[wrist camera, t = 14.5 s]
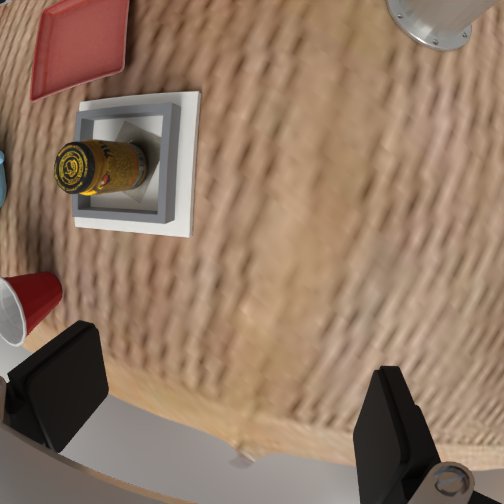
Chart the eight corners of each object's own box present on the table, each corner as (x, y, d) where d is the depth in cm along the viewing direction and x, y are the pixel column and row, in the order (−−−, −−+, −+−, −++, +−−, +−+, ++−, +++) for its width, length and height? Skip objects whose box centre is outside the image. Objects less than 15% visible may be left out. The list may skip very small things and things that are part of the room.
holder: (85, 103, 38) (67, 99, 34) (201, 93, 36) (190, 85, 32) (79, 225, 43) (62, 230, 39) (192, 235, 41) (180, 242, 37)
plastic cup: (35, 243, 45) (-17, 262, 34) (79, 277, 45) (28, 305, 34) (26, 294, 48) (-19, 318, 37) (66, 328, 48) (23, 360, 37)
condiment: (100, 178, 39) (39, 184, 28) (125, 120, 37) (67, 107, 26) (141, 203, 39) (85, 216, 28) (169, 142, 37) (118, 133, 26)
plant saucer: (141, -22, 33) (132, -31, 30) (135, 77, 37) (123, 71, 34) (52, 15, 36) (41, 10, 32) (42, 106, 40) (29, 104, 37)
